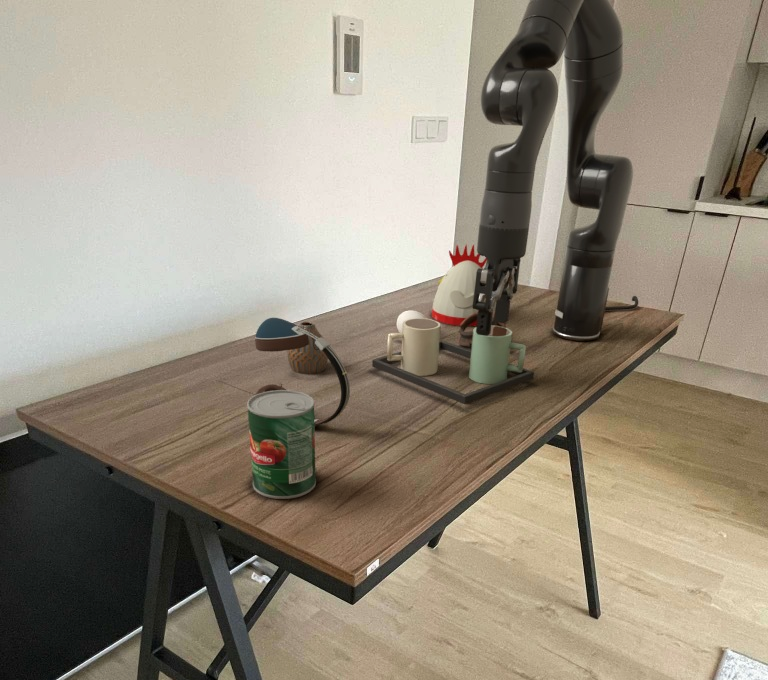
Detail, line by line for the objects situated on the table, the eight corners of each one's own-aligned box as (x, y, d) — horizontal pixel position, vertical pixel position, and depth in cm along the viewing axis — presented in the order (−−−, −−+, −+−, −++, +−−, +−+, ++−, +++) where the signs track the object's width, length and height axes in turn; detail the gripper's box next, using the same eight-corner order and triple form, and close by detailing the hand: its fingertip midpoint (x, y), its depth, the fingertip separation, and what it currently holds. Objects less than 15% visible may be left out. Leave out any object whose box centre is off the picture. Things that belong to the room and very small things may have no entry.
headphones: (204, 406, 106) (333, 449, 100) (202, 306, 98) (342, 347, 91) (228, 393, 111) (353, 433, 104) (229, 297, 103) (364, 335, 96)
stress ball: (429, 360, 139) (447, 330, 138) (403, 342, 134) (422, 311, 133) (407, 347, 145) (425, 318, 143) (382, 330, 139) (399, 300, 138)
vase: (335, 371, 123) (335, 321, 119) (316, 383, 118) (314, 332, 113) (301, 364, 126) (299, 315, 121) (280, 376, 120) (278, 325, 116)
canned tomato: (240, 491, 87) (233, 408, 81) (271, 464, 93) (267, 385, 87) (298, 504, 84) (295, 420, 79) (326, 476, 91) (325, 396, 85)
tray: (440, 351, 134) (441, 340, 133) (532, 384, 121) (534, 371, 119) (371, 372, 124) (372, 359, 122) (464, 410, 110) (465, 396, 109)
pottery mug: (515, 361, 132) (500, 325, 127) (468, 377, 135) (452, 344, 130) (512, 326, 140) (498, 291, 135) (468, 343, 144) (452, 309, 139)
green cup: (463, 379, 119) (467, 332, 114) (476, 368, 124) (481, 322, 119) (514, 390, 115) (521, 342, 111) (526, 378, 120) (533, 331, 116)
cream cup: (430, 362, 126) (433, 317, 121) (442, 374, 120) (446, 328, 116) (381, 365, 123) (382, 319, 119) (392, 378, 118) (393, 331, 114)
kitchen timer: (434, 306, 161) (439, 236, 153) (495, 310, 160) (502, 240, 152) (429, 323, 149) (434, 249, 142) (494, 328, 148) (503, 253, 140)
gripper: (513, 231, 100) (499, 343, 108) (541, 219, 111) (527, 321, 119) (464, 226, 103) (454, 335, 111) (496, 214, 114) (485, 314, 122)
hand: (492, 328), depth 115 cm, fingers open, 8 cm apart
